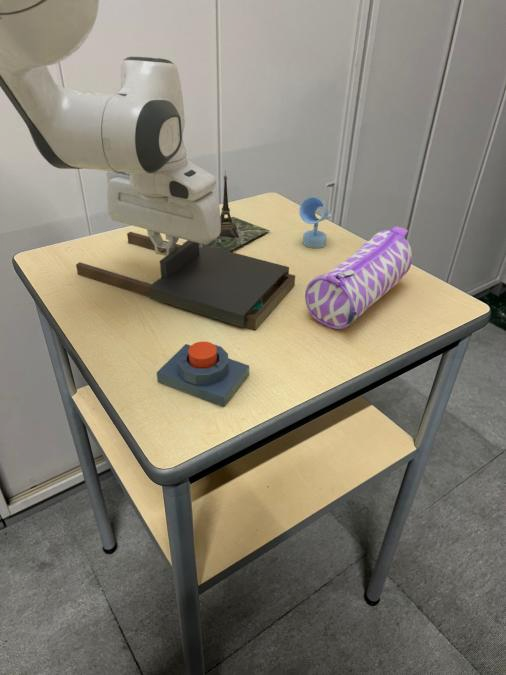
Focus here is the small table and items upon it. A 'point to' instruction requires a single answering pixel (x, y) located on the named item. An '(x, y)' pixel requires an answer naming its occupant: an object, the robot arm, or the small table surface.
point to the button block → (204, 376)
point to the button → (202, 355)
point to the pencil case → (359, 279)
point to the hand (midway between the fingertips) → (165, 254)
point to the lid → (214, 281)
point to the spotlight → (313, 222)
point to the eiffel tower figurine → (233, 228)
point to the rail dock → (143, 287)
